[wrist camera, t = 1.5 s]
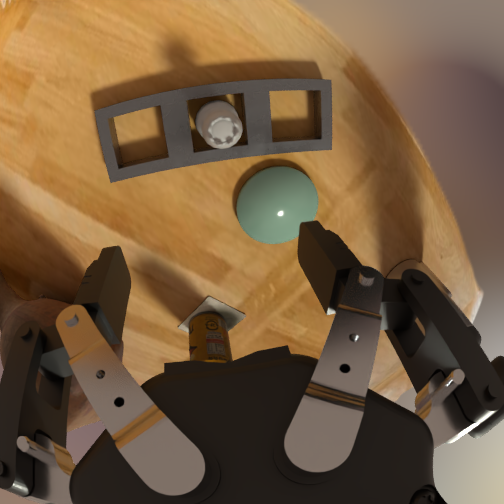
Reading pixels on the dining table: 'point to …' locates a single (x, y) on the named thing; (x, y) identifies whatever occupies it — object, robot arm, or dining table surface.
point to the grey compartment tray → (185, 154)
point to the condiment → (211, 331)
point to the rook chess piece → (219, 124)
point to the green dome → (276, 204)
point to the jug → (45, 314)
